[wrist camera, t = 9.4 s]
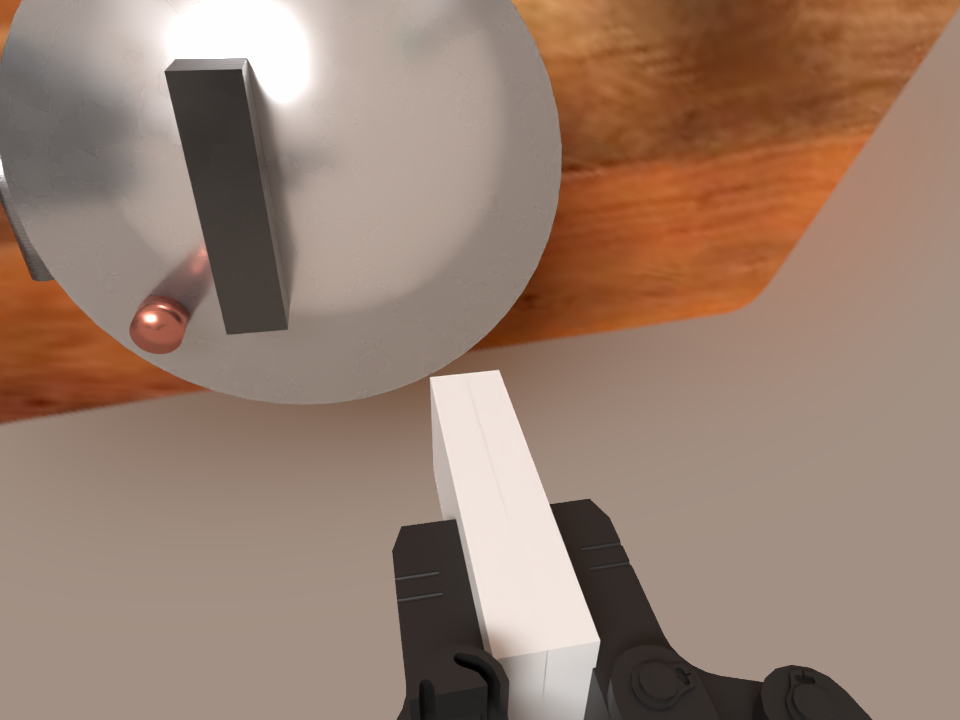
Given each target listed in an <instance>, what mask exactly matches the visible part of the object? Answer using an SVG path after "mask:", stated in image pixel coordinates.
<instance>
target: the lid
mask: <svg viewBox="0 0 960 720" xmlns="http://www.w3.org/2000/svg"><path fill="white" fill-rule="evenodd" d="M561 153H562V145H561V136H560V128H559V119H558V111H557V107H556V103H555V99H554V95H553V91H552V87H551V83H550V79H549V76H548V73H547V71H546V68H545V66H544V63H543V61H542V58H541V55H540V53H539V50H538V48H537V45H536V43H535V41H534V39H533V37H532V35H531V34H530V32H529V30H528V28H527V26H526V25H525V23H524V21H523V19H522V17H521V16H520V14H519V12H518V10H517V8H516V7H515V6H514V4H513V3H512V2H511V0H22V2H21V4H20V6H19V7H18V9H17V11H16V13H15V15H14V18H13V21H12V24H11V27H10V30H9V34H8V37H7V40H6V43H5V46H4V50H3V53H2V57H1V64H0V201H1V204H2V206H3V208H4V211H5V213H6V216H7V218H8V221H9V223H10V226H11V228H12V231H13V233H14V236H15V238H16V241H17V243H18V245H19V248H20V250H21V253H22V255H23V258H24V260H25V263H26V265H27V268H28V270H29V273H30V275H31V278H32V279H33V280H35V281H49V280H53V279H55V280H56V281H57V282H58V283H59V285H60V286H61V287H62V288H63V289H64V291H65V292H66V293H67V294H68V296H69V297H70V298H71V299H72V300H73V302H74V303H75V304H76V305H77V306H78V307H79V308H80V309H81V310H82V311H84V312H85V313H86V314H87V315H88V316H89V317H90V318H91V319H92V320H93V321H94V322H95V323H96V324H97V325H98V326H99V327H100V328H101V329H103V330H104V331H105V332H107V333H108V334H109V335H110V336H112V337H113V338H114V339H116V340H117V341H118V342H119V343H121V344H122V345H123V346H125V347H126V348H127V349H129V350H131V351H132V352H134V353H135V354H137V355H139V356H140V357H142V358H143V359H145V360H147V361H148V362H150V363H152V364H153V365H155V366H157V367H159V368H161V369H163V370H165V371H167V372H169V373H171V374H173V375H175V376H177V377H179V378H182V379H184V380H186V381H189V382H192V383H194V384H197V385H200V386H202V387H205V388H208V389H211V390H213V391H217V392H221V393H225V394H229V395H233V396H237V397H240V398H244V399H251V400H257V401H265V402H271V403H282V404H303V405H307V404H325V403H338V402H344V401H350V400H357V399H363V398H367V397H371V396H375V395H379V394H382V393H386V392H389V391H392V390H395V389H398V388H400V387H403V386H406V385H408V384H411V383H414V382H416V381H418V380H420V379H422V378H424V377H426V376H428V375H430V374H432V373H434V372H436V371H438V370H440V369H442V368H443V367H445V366H446V365H448V364H449V363H451V362H452V361H454V360H455V359H457V358H458V357H460V356H461V355H463V354H465V353H466V352H467V351H468V350H469V349H471V348H472V347H473V346H474V345H475V344H477V343H478V342H479V341H480V340H481V339H483V338H484V337H485V336H486V335H487V334H488V333H489V332H490V331H491V330H492V329H493V328H494V327H495V326H496V325H497V324H498V323H499V321H500V320H501V319H502V318H503V317H504V316H505V315H506V314H507V313H508V311H509V310H510V308H511V307H512V306H513V304H514V303H515V302H516V300H517V299H518V298H519V296H520V295H521V294H522V292H523V291H524V289H525V287H526V285H527V284H528V282H529V280H530V278H531V277H532V275H533V273H534V271H535V270H536V268H537V266H538V264H539V261H540V259H541V256H542V254H543V251H544V249H545V247H546V244H547V242H548V239H549V236H550V232H551V229H552V225H553V221H554V218H555V214H556V210H557V204H558V197H559V190H560V183H561Z"/></svg>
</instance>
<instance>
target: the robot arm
mask: <svg viewBox="0 0 960 720" xmlns="http://www.w3.org/2000/svg"><path fill="white" fill-rule="evenodd" d="M430 392H431V412H432V413H431V416H432V439H433V462H434V474H435V480H436V485H437V490H438V495H439V500H440V505H441V511H442V516H443V521H438V522H431V523H424V524H417V525H410V526H402V527H401V529H400V532H399V535H398V537H397V540H396V542H395V545H394V548H393V551H392V553H393V563H394V573H395V584H396V594H397V603H398V613H399V622H400V631H401V641H402V650H403V660H404V669H405V678H406V698H405V701H404V705H403V709H402V711H401V713H400V714H399V716H398V718H397V720H872V719H871V718H870V717H869V715H868V714H867V713H866V712H865V711H864V710H863V709H862V708H861V707H860V706H859V705H858V704H857V703H856V701H855V700H854V699H853V698H852V697H851V696H850V695H849V694H848V693H847V692H846V691H845V690H844V689H843V688H842V687H841V686H839V685H838V684H837V683H835V682H834V681H833V680H832V679H831V678H830V677H828V676H826V675H824V674H822V673H820V672H818V671H816V670H814V669H811V668H808V667H802V666H795V665H789V666H785V667H781V668H777V669H775V670H774V671H773V672H772V673H771V674H769V675H768V676H767V677H766V678H765V680H764V682H758V681H751V680H745V679H738V678H731V677H725V676H719V675H715V674H711V673H708V672H705V671H703V670H701V669H698V668H697V667H695V666H693V665H691V664H690V663H688V662H687V661H686V660H684V659H683V658H682V657H680V656H679V655H678V653H677V652H676V651H675V650H674V649H673V648H672V647H671V646H670V644H669V643H668V641H667V639H666V638H665V636H664V634H663V632H662V630H661V628H660V626H659V624H658V621H657V619H656V617H655V615H654V613H653V611H652V609H651V606H650V604H649V602H648V600H647V598H646V595H645V593H644V591H643V589H642V587H641V585H640V582H639V580H638V578H637V576H636V574H635V572H634V569H633V568H632V566H631V565H630V563H629V559H628V557H627V555H626V552H625V550H624V548H623V546H621V543H620V539H619V537H618V535H617V533H616V531H615V528H614V526H613V524H612V522H611V520H610V518H609V517H608V516H607V515H606V514H605V513H604V512H603V511H602V510H601V509H600V508H599V507H598V506H597V505H596V504H594V503H593V502H592V501H591V500H590V499H584V500H577V501H570V502H564V503H556V504H549V503H548V500H547V497H546V494H545V492H544V489H543V487H542V484H541V481H540V479H539V476H538V473H537V470H536V468H535V465H534V462H533V460H532V457H531V454H530V452H529V449H528V446H527V444H526V441H525V438H524V436H523V433H522V430H521V428H520V425H519V423H518V420H517V417H516V414H515V412H514V409H513V406H512V404H511V401H510V398H509V396H508V393H507V390H506V388H505V385H504V382H503V379H502V377H501V374H500V371H499V370H494V371H484V372H474V373H466V374H455V375H446V376H437V377H430Z"/></svg>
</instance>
